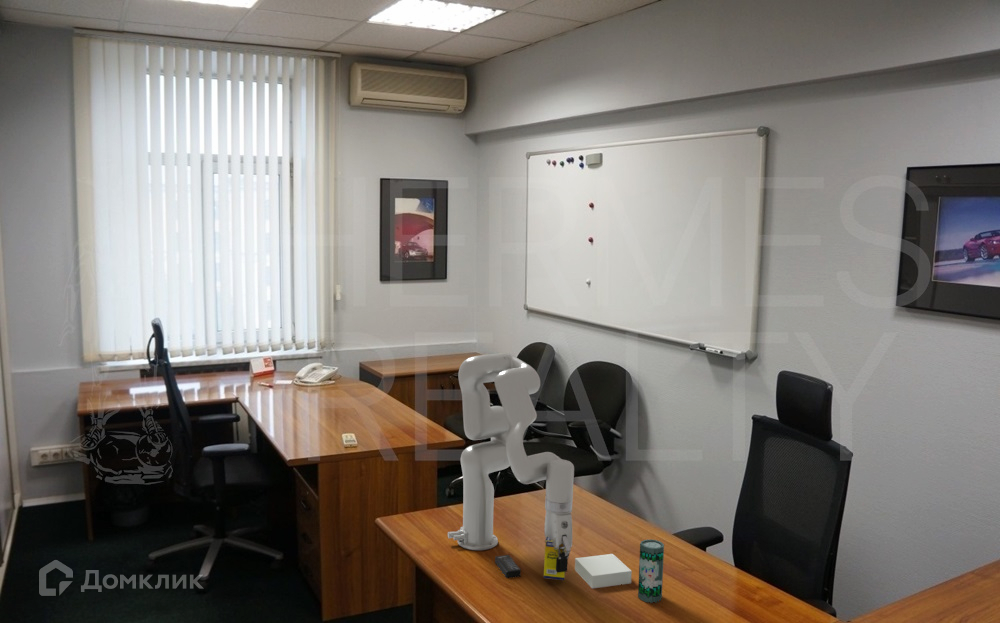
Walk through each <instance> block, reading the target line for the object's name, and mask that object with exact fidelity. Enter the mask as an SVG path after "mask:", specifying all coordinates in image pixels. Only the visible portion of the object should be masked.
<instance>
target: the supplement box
mask: <svg viewBox="0 0 1000 623" xmlns="http://www.w3.org/2000/svg"><path fill="white" fill-rule="evenodd" d="M545 539H546V540H545ZM545 539H544V563H543V579H547V580H548V579H549V580H550V579H552V580H559V581H564V580H565V577H566V576H565V575H566V572H556V558H558V555H557V549H556V548H555V547H554V546H553V542H552V540H551V539H550V538H549V537H548V536H547V537H545ZM559 547H564V546H563V543H562V544H560V545H559ZM562 552H564V549H562V550H560V553H562Z"/></svg>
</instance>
